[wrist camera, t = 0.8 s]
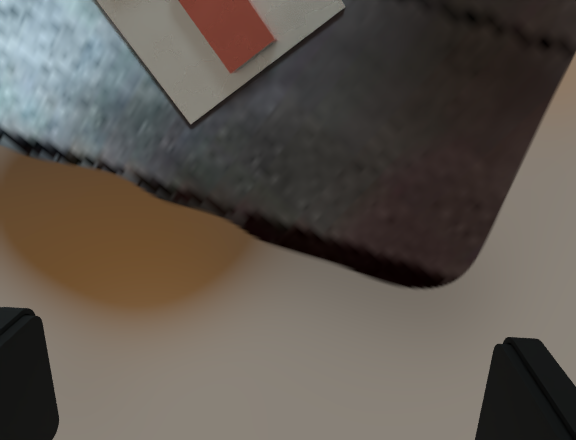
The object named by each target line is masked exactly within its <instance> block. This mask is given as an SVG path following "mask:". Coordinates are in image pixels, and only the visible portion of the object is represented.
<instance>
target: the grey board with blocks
mask: <svg viewBox="0 0 576 440" xmlns="http://www.w3.org/2000/svg"><path fill="white" fill-rule="evenodd" d="M97 2H98V3H99V4H100V6H101V7H102V8H103V9H104V11H105V12H106V13H107V15H108V16H109V17H110V19H111V20H112V21H113V23H114V24H115V25H116V27H117V28H118V29H119V31H120V32H121V33H122V35H123V36H124V37H125V38H126V40H127V41H128V42H129V44H130V45H131V46H132V48H133V49H134V50H135V52H136V53H137V54H138V56H139V57H140V58H141V60H142V61H143V62H144V64H145V65H146V66H147V67H148V69H149V70H150V71H151V73H152V74H153V75H154V77H155V78H156V79H157V81H158V82H159V83H160V85H161V86H162V87H163V89H164V90H165V91H166V93H167V94H168V95H169V96H170V98H171V99H172V100H173V102H174V103H175V104H176V106H177V107H178V108H179V110H180V111H181V112H182V114H183V115H184V116H185V118H186V119H187V120H188V121H189V123H190V124H192V123H194V122H195V121H196V120H198V119H199V118H200V117H202V116H203V115H204V114H206V113H207V112H208V111H210V110H211V109H212V108H214V107H215V106H216V105H217V104H219V103H220V102H221V101H223V100H224V99H225V98H227V97H228V96H229V95H231V94H232V93H233V92H235V91H236V90H237V89H238V88H240V87H241V86H242V85H244V84H245V83H246V82H248V81H249V80H250V79H252V78H253V77H254V76H256V75H257V74H258V73H260V72H261V71H262V70H263V69H265V68H266V67H267V66H269V65H270V64H271V63H273V62H274V61H275V60H277V59H278V58H279V57H281V56H282V55H283V54H285V53H286V52H287V51H288V50H290V49H291V48H292V47H294V46H295V45H296V44H298V43H299V42H300V41H302V40H303V39H304V38H306V37H307V36H308V35H310V34H311V33H312V32H313V31H315V30H316V29H317V28H319V27H320V26H321V25H323V24H324V23H325V22H327V21H328V20H329V19H331V18H332V17H333V16H334V15H336V14H337V13H338V12H340V11H341V10H342V9H344V8H345V5H344V4H343V2H342V0H97Z"/></svg>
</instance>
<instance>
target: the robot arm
mask: <svg viewBox="0 0 576 440" xmlns="http://www.w3.org/2000/svg"><path fill="white" fill-rule="evenodd" d="M58 425H59V415H58V409H57V404H56V398H55V392H54V387H53V380H52V375H51V369H50V363H49V358H48V352H47V347H46V341H45V335H44V329H43V323H42V320H41V318H40V317H38V316H35V314H34V312H33V311H32V310H31V309H28V308H12V307H0V440H52V439H53V438H54V436H55V434H56V432H57V428H58ZM475 440H576V387H575V385H574V384H573V383H572V381H571V380H570V379H569V378H568V376H567V375H566V374H565V372H564V371H563V370H562V368H561V367H560V366H559V364H558V363H557V362H556V360H555V359H554V358H553V356H552V355H551V354H550V352H549V351H548V350H547V348H546V347H545V346H544V344H543V343H542V342H541V341H540V340H539V339H532V338H515V337H507V338H506V339H505V340H504V342H503V344H497V345H496V346H495V347H494V351H493V355H492V360H491V365H490V370H489V375H488V379H487V384H486V389H485V394H484V399H483V403H482V408H481V413H480V418H479V423H478V428H477V432H476V437H475Z"/></svg>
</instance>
